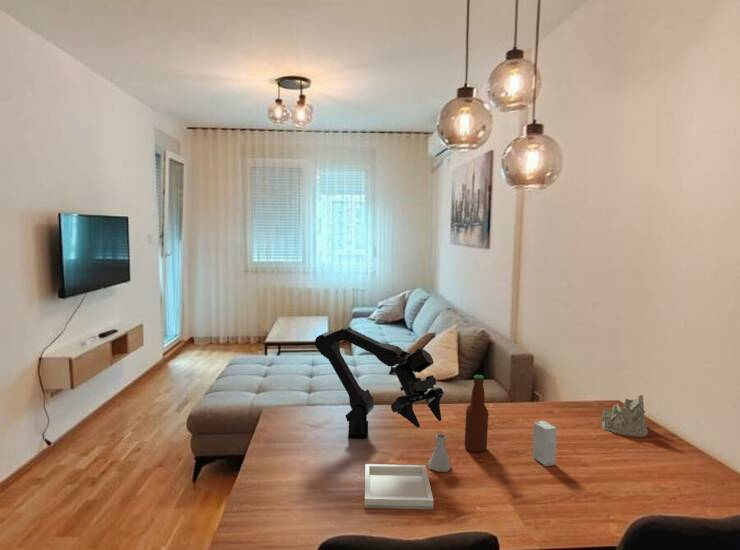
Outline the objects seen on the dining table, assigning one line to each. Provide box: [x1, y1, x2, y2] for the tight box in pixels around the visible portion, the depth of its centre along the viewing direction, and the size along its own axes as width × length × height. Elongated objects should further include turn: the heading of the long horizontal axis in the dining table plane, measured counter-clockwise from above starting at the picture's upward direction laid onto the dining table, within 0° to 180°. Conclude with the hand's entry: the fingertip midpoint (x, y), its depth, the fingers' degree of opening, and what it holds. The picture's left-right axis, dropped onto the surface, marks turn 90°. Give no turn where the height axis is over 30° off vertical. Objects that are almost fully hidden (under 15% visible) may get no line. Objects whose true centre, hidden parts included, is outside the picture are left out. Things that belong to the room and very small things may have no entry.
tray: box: [364, 463, 434, 510], centre depth 131 cm, size 18×18×2 cm
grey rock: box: [600, 394, 649, 438], centre depth 176 cm, size 16×16×15 cm
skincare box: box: [532, 420, 558, 467], centre depth 149 cm, size 6×4×12 cm
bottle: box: [464, 374, 489, 453], centre depth 156 cm, size 7×7×25 cm
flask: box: [427, 433, 452, 473], centre depth 144 cm, size 7×7×10 cm
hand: (429, 423), depth 148 cm, fingers open, 9 cm apart
